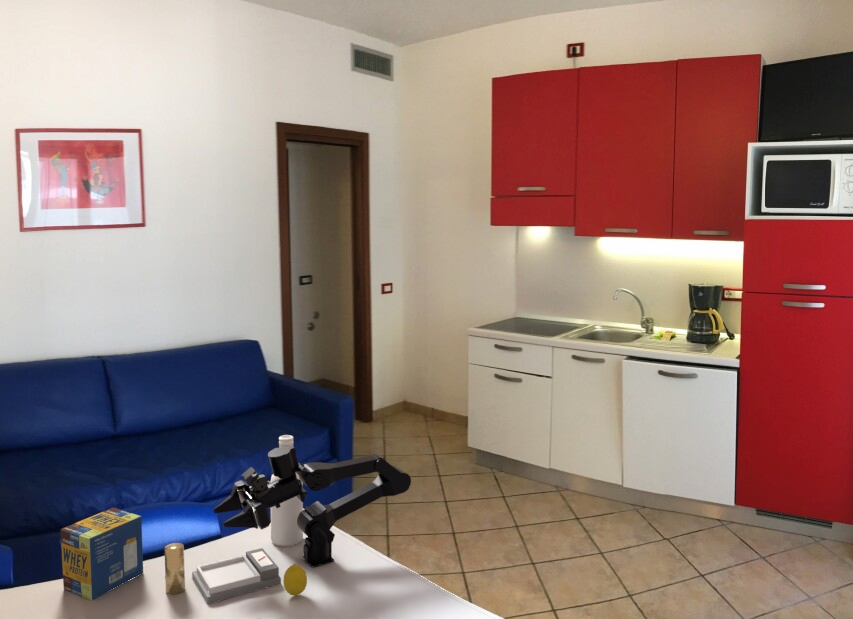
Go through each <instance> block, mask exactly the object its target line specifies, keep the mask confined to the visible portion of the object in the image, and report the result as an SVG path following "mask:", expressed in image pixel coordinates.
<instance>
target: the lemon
mask: <svg viewBox="0 0 853 619" xmlns="http://www.w3.org/2000/svg"><path fill="white" fill-rule="evenodd" d="M307 583H308V576H307V572H306V570H305V569H304V567H303V566H301V565H299V564H296V563H295V564H292V565H290V566H288V567H287V569H286V570H285V572H284V574H283V586H284V590H285V592H286V593H287V594H289V595H291V596H294V597H297V596H298V595H301V594H302V593H303V592H304V590H306V587H307V585H308V584H307Z"/></svg>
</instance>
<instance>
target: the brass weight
mask: <svg viewBox="0 0 853 619" xmlns="http://www.w3.org/2000/svg"><path fill="white" fill-rule="evenodd" d="M164 575H165V578H164V580H165V593H166V594H167V595H169V594H170V595H169V596H176V595H175V594H177V595H180V594H182V593H183V591H184V592H185V590H186V581H185V580H186V578H185V576H186V575H185V547H184V544H183V543H181V542H172V543H169V544H167V545H166V546H164ZM181 592H182V593H181Z"/></svg>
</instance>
